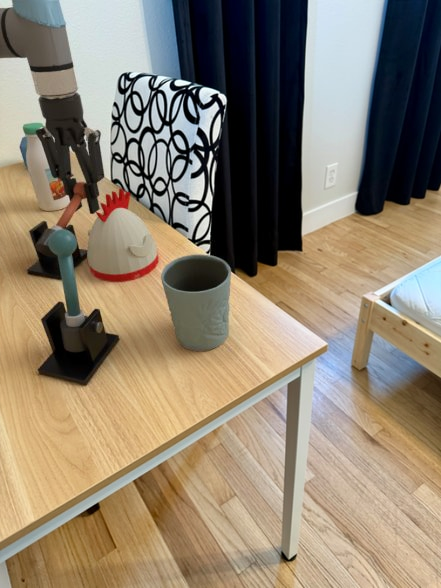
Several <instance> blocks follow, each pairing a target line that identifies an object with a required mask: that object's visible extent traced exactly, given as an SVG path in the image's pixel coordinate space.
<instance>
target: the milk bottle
mask: <svg viewBox="0 0 441 588" xmlns="http://www.w3.org/2000/svg"><path fill="white" fill-rule="evenodd" d="M25 124H26V125H25ZM25 124H23V125H24V126H23V125H22V131H23V133H24V137H25V136H26V137H27V152H26V162H27V167H26V168H27V170H28V174H29V177H30V181H31V184H32V187H33V191H34V194H35V198H36V201H37V204H38V206H39V209H41V210H43V211H47V212H54V211H59V210H62V209H66V208H67V206H68V204H69V203H70V199H69V195H66V193H65V190H64V186H63V182H62V181H61V180H60V179H59V178H53V177H52V174H51V171H50V168H49V165H48V162H47V159H46V156H45V152H44V149H43V146H42V143H41V141H40V139H39V138H38V136H37V135H36V132H35V131H36V130H37V129H39V128H42V127H44V126H45V124H43V123H42V122H29V123H25ZM56 170H57V169H56Z"/></svg>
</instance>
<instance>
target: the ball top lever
mask: <svg viewBox="0 0 441 588" xmlns="http://www.w3.org/2000/svg"><path fill="white" fill-rule="evenodd" d="M76 238H77V236H76V237H75V236H74V235H73V233H71V232H70V231H68V230H64V229H61V230H57V231H55V232H53V233H52V234H51V235H50V237H49V241H48V244H49V248H50V250H51V251H52V252H53V253H54V254H56V255H58V260H59V266H60V272H61V278H62V280H61V282H62V289H63V295H64V300H65V306H66V307H65V308H66V313H65V319H64V320H63V321H62V322H61V323H60V328H61V333H62V339H63V344H64V348H65V349H66V350H67V351H70V352H82V351H85V347H84V344H83V340H82V337H81V334H80V331H79V326H80V325H81V324H82V323H83V322H84V321H85V319H86V318H87V317H88V315H85V312H84V311H83V310H82V309H81V305H80V299H79V293H78V286H77V279H76V274H75V269H74V266H73V259H72V253H73V252H74V251H75V249H76V247H77V242H78V239H77V240H76Z"/></svg>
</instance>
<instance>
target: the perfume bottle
mask: <svg viewBox="0 0 441 588" xmlns="http://www.w3.org/2000/svg"><path fill="white" fill-rule="evenodd" d="M26 124H27V123H25V124H23V125H22V127H23V126H24V125H26ZM19 150H20V153H21V158H22V160H23V164H24V166H25V168H28V167H27V162H26V152H27V137H26V136H25V135H24V136H23V137H22V138H21V141H20V144H19Z"/></svg>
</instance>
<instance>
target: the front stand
mask: <svg viewBox="0 0 441 588" xmlns="http://www.w3.org/2000/svg"><path fill="white" fill-rule="evenodd" d="M65 306H66V305H65V303H64V301H60V300H59V301H58V302H57V303H56V304H54V306H52V307H51V308H50V309H49V310H48V311H47V312H46V314H45V315H43V316H42V318H40V321H41V324H42V327H43V330H44V332H45V335H46V338H47V341H48V344H49V346H50V348H51V351H52V352H51V354H49V356H48V357H46V359H45V360H44V361H43V362H42V363H41V364H40V366H39V367H38V368H37V372H38V374H39V375H42V376H45V377H50V378H54V379H58V380H62V381H65V382H70V383H73V384H78V385H82V386H87V385H88V383H89V382H90V381H91V380H92V378H93V377H94V375H95V374H96V373H97V371H98V370H99V369H100V367H101V366H102V365H103V363H104V362H105V360H106V359H107V358H108V357H109V356H110V354H111V353H112V351H113V350H114V349H115V347H116V346H117V344H118V343H119V342H120V335H118V334H114V333H109V332H106V329H105V325H104V320H103V317H102V312H101V309H100V308H94V309H93V310H92V311H91V312H90V314H89V315H87V318H86V319H85V321H84V322H83V323H82V324H81V325H80V326H79V331H80V334H81V337H82V340H83V344H84V347H85V351H82V352H70V351H67V350H66V349H65V348H64V344H63V339H62V333H61V328H60V323H61V322H62V321H63V320H64V319H65V313H66V312H67V308H66V307H65Z"/></svg>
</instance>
